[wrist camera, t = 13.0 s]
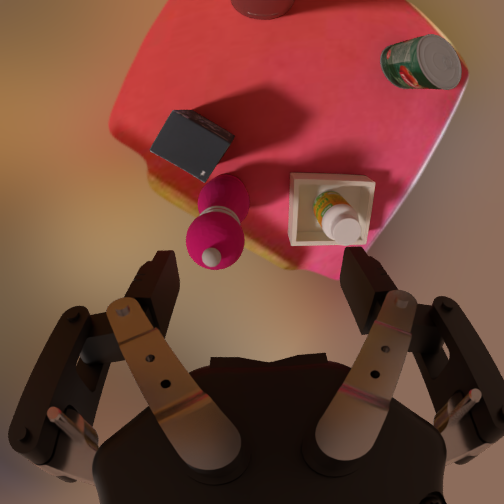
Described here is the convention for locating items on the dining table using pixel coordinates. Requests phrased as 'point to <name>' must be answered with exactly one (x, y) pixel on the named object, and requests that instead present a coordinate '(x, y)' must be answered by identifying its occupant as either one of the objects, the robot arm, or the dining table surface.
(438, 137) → the dining table surface
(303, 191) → the tub
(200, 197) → the pepper mill
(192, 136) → the box
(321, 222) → the supplement bottle
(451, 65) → the canned tomato
